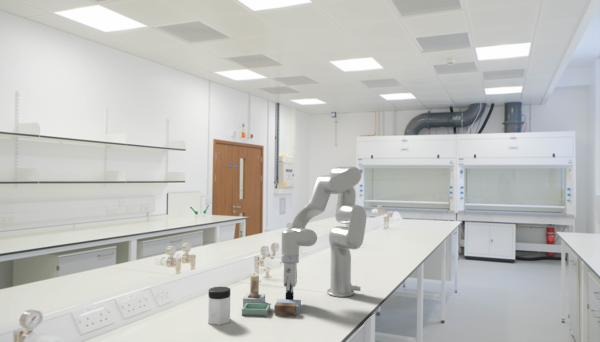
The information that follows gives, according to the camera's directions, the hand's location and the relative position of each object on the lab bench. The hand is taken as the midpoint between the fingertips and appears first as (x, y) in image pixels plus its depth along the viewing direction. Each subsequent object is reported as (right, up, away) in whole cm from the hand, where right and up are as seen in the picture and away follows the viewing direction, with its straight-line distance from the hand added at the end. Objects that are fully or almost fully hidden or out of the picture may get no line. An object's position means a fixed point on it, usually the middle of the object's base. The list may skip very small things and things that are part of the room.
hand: (289, 301), depth 178 cm
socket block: (-15, -1, -1) cm, 15 cm away
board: (0, -2, -6) cm, 6 cm away
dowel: (-15, -1, -1) cm, 15 cm away
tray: (-13, -1, -12) cm, 18 cm away
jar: (-26, -1, -22) cm, 34 cm away
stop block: (-1, -1, -13) cm, 13 cm away
